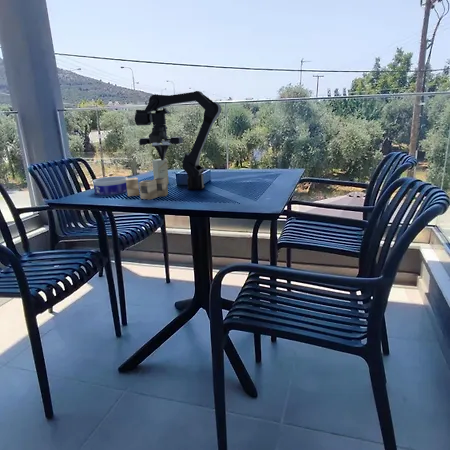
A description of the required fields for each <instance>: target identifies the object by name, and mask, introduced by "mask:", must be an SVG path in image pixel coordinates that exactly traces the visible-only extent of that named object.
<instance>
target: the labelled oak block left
mask: <svg viewBox="0 0 450 450" xmlns="http://www.w3.org/2000/svg"><path fill="white" fill-rule="evenodd" d="M152 180H156V183H157V193H158V197H166V196H168V194H169V190H168V187H169V186H168V184H167V178H155V179H154V178H153V179H152Z"/></svg>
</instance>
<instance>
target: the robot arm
mask: <svg viewBox="0 0 450 450" xmlns="http://www.w3.org/2000/svg"><path fill="white" fill-rule="evenodd" d="M191 102H192V103H193V102H196V103H197V104H198V105H200V107H202V108H203V109H204V112H203V119H202V124H201V125H200V129H199V130H198V134H197V135H196V138H195V141H194V143H193V145H192V148H191V151H190V152H187V153H184V158H183V159H182V161H181V163H182V166H181V167H182V168H183V171H184V172H186V174H187V178H186V180H187V190H203V189H204V188H205V185H204V184H205V183H204V182H205V181H204V174H203V173H204V169H205V168H203V167H202V166H201V165H200V160H201V153H202V150H203V148H204V146H205V144H206V141H207V139H208V136H209V133H210V131H211V129H212V126H213V125H214V123H215V122H216V120H217V119H218V118H219V116H220V114H221V113H222V106H221V104H220V103H218V102H216V101H213V100H212V99H210V98H209V97H208V96H206V94H203V92H202V91H200V90H196V91H191V92H185V93H177V94H171V95H169V94H167V95H166V94H165V95H164V94H152V95H150V97H149V99H148V103H147V104H146V107H145V109H136V110H135V115H134V123H135V125H136V126H138V127H142V126H151V124H152V128H151V132H150V133H149V135H148V137H143V138H142V137H141V138H139V140H138V141H139V142H138V143H139V146H146V145H151V144H152V145H151V147H152V148H155V150H156V152H157V154H158V156H159V159H161V160H164V159H166V155H167V152H168V149H169V147H171V145H180V144H183V143H184V141H183V137H182V136H171V137H170V138H169V135H168V132H167V129H168V126H167V121H166V115H168V114H170V111H169V110H167V108H168V107H170V106H172V105H178V104H184V103H186V104H187V103H191Z"/></svg>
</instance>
